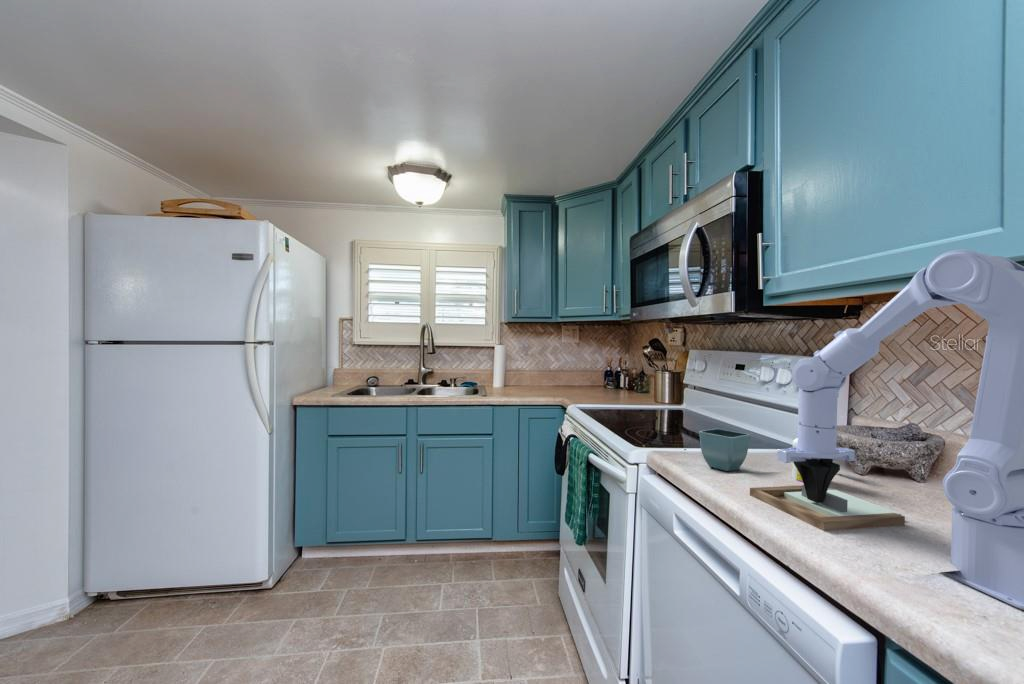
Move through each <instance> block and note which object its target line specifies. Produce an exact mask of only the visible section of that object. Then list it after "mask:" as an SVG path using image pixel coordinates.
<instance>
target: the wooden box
mask: <svg viewBox="0 0 1024 684" xmlns="http://www.w3.org/2000/svg"><path fill="white" fill-rule="evenodd" d="M784 492H802V485H786V486H785V485H784V486H783V485H782V486H781V485H780V486H763V487H761V486H759V487H749V496H751V497H752V498H754V499H756V500H758V501H760V502H762V503H765V504H766V505H769V506H771V507H773V508H776V509H777V510H780V511H782V512H783V513H786V514H787V515H789V516H791V517H794V518H796V519H798V520H800V521H802V522H805V523H806V524H808V525H811V526H812V527H814V528H816V529H819V530H821V531H823V532H826V531H840V530H857V529H858V530H859V529H869V528H884V527H886V528H887V527H899V526H900V527H902V526H905V524H906V523H905V522H906V519H905V518H906V516H904V515H902V514H901V515H899V514H897V513H883V514H867V515H851V516H835V517H827V516H825V515H822V514H820V513H818V512H816V511H813V510H811V509H809V508H806V507H804V506H802V505H800V504H797V503H795V502H793V501H791V500H788V499H786V498H784Z"/></svg>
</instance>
